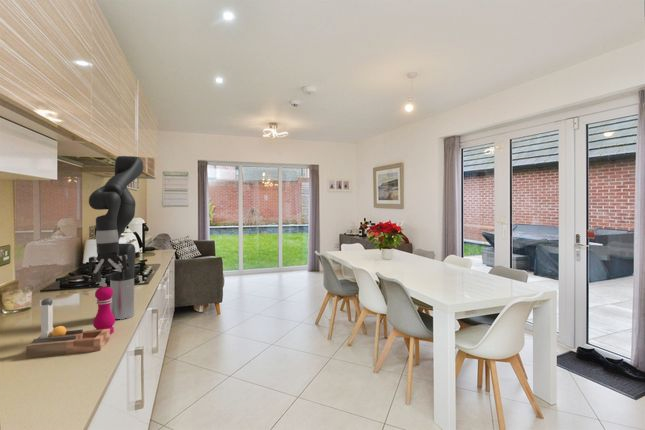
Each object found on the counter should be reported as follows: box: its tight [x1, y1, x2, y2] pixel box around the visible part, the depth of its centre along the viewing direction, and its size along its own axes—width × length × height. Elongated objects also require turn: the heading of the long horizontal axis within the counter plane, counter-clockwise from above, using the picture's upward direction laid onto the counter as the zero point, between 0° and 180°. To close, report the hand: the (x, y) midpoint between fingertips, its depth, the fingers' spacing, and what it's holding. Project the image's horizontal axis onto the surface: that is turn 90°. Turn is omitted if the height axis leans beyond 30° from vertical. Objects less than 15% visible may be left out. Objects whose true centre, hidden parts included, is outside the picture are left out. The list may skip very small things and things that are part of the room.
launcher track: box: [25, 328, 111, 359], centre depth 114 cm, size 10×21×5 cm, turn 107°
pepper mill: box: [92, 282, 116, 335], centre depth 127 cm, size 7×7×20 cm
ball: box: [52, 325, 67, 337], centre depth 113 cm, size 4×4×4 cm
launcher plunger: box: [39, 297, 55, 338], centre depth 112 cm, size 4×3×14 cm
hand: (110, 281), depth 130 cm, fingers open, 8 cm apart
